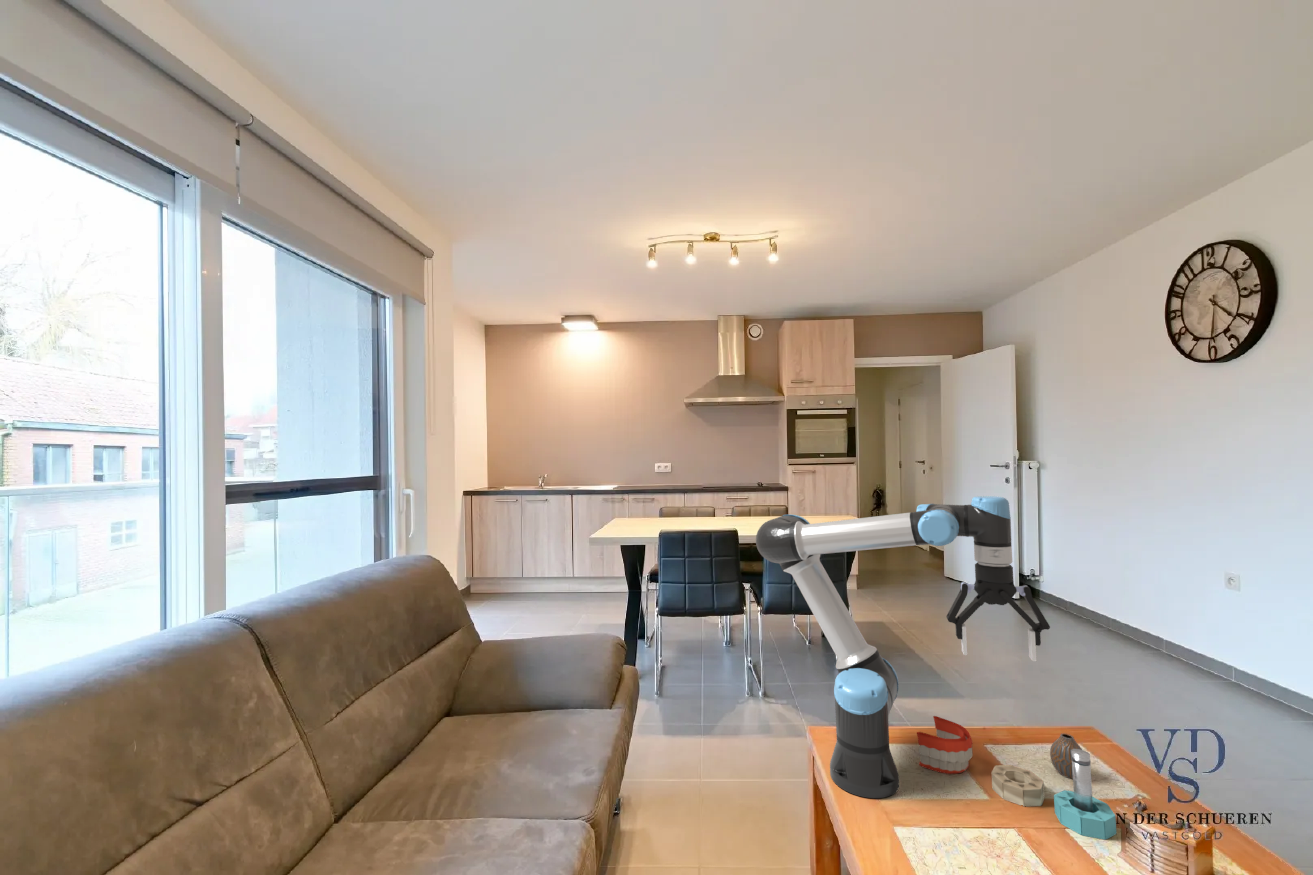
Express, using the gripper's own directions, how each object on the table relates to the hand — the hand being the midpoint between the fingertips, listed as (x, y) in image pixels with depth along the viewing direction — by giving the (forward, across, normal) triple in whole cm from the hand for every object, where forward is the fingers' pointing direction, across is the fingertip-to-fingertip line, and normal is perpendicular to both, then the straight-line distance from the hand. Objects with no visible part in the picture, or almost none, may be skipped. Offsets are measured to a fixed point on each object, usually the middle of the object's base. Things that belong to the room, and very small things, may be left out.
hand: (997, 656), depth 125 cm
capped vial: (+29, +12, -10) cm, 33 cm away
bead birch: (+29, +2, -3) cm, 29 cm away
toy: (+29, -11, +5) cm, 31 cm away
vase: (+29, +15, +9) cm, 34 cm away
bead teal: (+29, +12, -10) cm, 33 cm away
